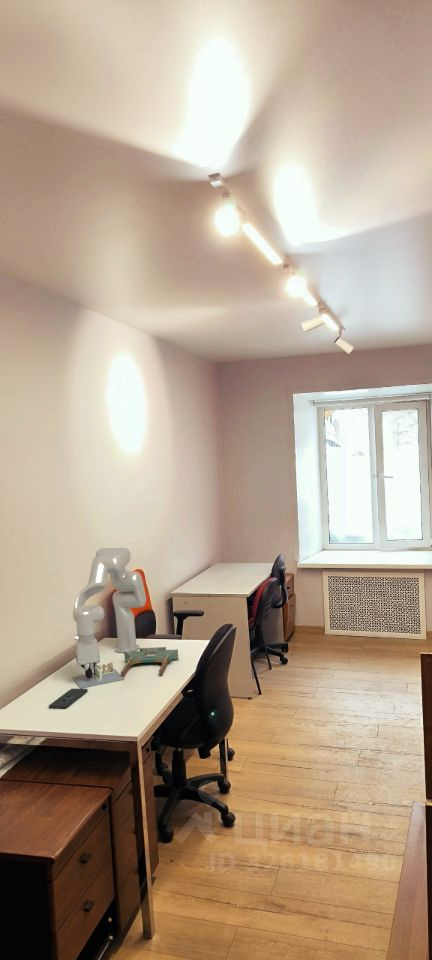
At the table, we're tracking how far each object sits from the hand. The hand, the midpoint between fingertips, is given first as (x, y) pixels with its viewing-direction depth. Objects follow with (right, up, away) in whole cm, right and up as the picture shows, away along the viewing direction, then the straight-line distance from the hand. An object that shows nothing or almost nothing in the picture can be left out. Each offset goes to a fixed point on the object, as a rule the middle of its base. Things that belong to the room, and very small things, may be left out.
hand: (89, 677), depth 284 cm
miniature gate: (+25, 0, +16) cm, 30 cm away
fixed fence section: (+5, -1, +9) cm, 10 cm away
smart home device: (-4, -3, -21) cm, 22 cm away
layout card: (+3, -2, +3) cm, 5 cm away
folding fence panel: (+4, -1, +3) cm, 5 cm away
